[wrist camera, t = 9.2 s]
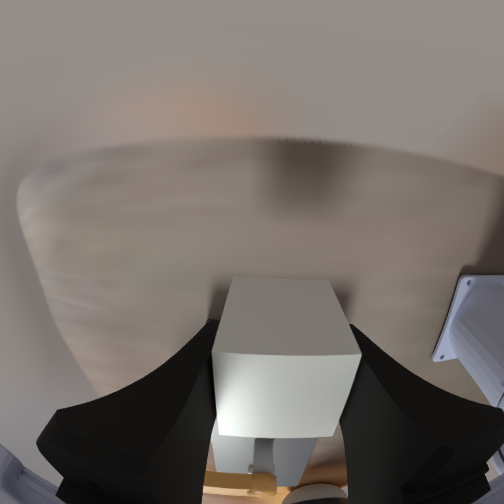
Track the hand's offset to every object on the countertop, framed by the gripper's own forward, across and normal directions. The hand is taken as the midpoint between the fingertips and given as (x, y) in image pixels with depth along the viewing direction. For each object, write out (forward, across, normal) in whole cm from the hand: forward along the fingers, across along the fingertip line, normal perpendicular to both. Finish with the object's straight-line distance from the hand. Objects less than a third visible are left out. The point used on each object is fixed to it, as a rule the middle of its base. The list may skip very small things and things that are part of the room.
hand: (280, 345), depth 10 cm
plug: (+2, 0, 0) cm, 2 cm away
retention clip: (+1, +3, +15) cm, 16 cm away
